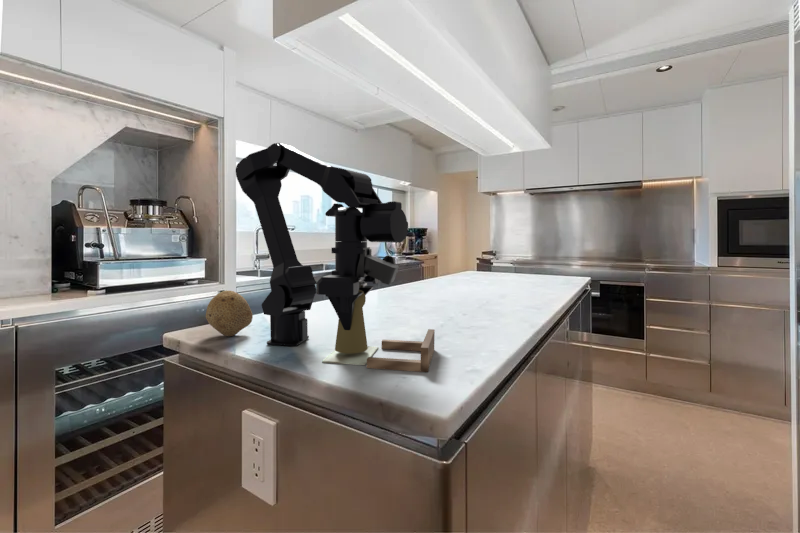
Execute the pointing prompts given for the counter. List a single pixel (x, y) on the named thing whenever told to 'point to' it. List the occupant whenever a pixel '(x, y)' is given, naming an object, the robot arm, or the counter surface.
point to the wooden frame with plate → (390, 363)
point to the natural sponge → (228, 313)
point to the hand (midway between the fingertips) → (351, 327)
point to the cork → (353, 331)
